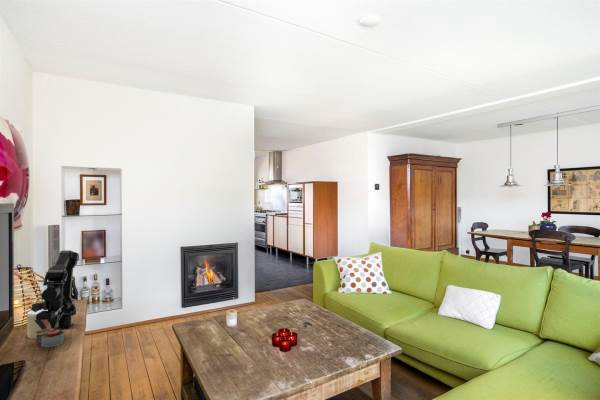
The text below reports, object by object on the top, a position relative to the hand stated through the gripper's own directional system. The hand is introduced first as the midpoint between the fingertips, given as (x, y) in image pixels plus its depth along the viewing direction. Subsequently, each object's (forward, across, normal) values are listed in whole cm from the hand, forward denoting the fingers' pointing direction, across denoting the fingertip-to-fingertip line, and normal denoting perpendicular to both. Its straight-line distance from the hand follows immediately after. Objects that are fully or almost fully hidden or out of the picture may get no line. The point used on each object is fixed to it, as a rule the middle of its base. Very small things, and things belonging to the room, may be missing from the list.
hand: (53, 328), depth 154 cm
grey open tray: (+7, 0, -1) cm, 7 cm away
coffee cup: (+7, -11, -12) cm, 18 cm away
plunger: (+6, 0, 0) cm, 6 cm away
